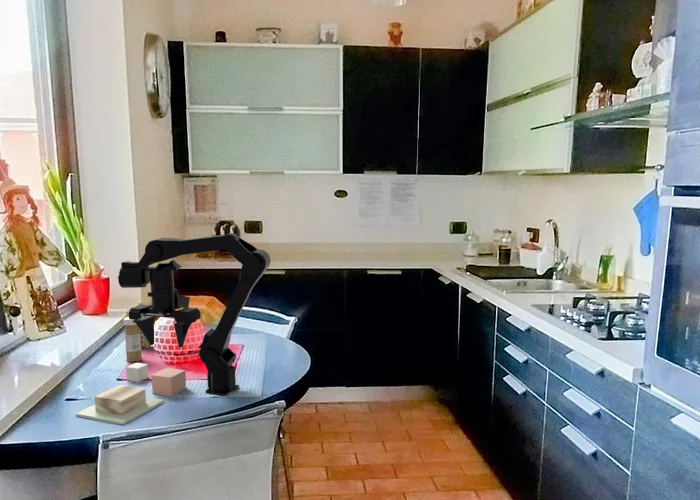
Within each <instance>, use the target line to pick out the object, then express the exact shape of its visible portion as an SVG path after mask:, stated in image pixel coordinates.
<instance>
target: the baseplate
mask: <svg viewBox="0 0 700 500" xmlns="http://www.w3.org/2000/svg"><path fill="white" fill-rule="evenodd" d="M164 403H165V399H160V398H155V397H150V396H149V397H148V396H146V403H145V404H143V405H141V406H139V407H137V408H135V409H133V410H131V411H129V412H127V413H126V414H124V415H118V414H112V413H106V412H101V411H96V410H95V404H93V405H90V406H88V407H87V408H84V409H82V410H80V411H79V412H76V413H75V417H79V418H85V419H88V420H89V419H90V420H94V421H100V422H105V423H112V424H115V425H116V424H117V425H121V426H122V425H123V426H124V425H125V424H127V423H129V422H131V421H133V420H134V419H136V418H138V417H140V416H142V415H144V414H145V413H147V412H149V411H151V410H152V409H154V408H157V407H158V406H160V405H162V404H164Z"/></svg>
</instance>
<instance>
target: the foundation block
mask: <svg viewBox="0 0 700 500" xmlns="http://www.w3.org/2000/svg"><path fill="white" fill-rule="evenodd" d="M146 397H147V395H146V388H141V387H135V386H127V385H122V384H119V385H117V386H114V387H112V388H110V389H107V390H105V391H104V392H101V393H99V394H97V395H95V396H94V405H95V410H96V411H101V412H106V413H112V414H118V415H124V414H126V413H127V412H129V411H131V410H133V409H135V408H137V407H139V406H141V405H143V404H145V403H146Z"/></svg>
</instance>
